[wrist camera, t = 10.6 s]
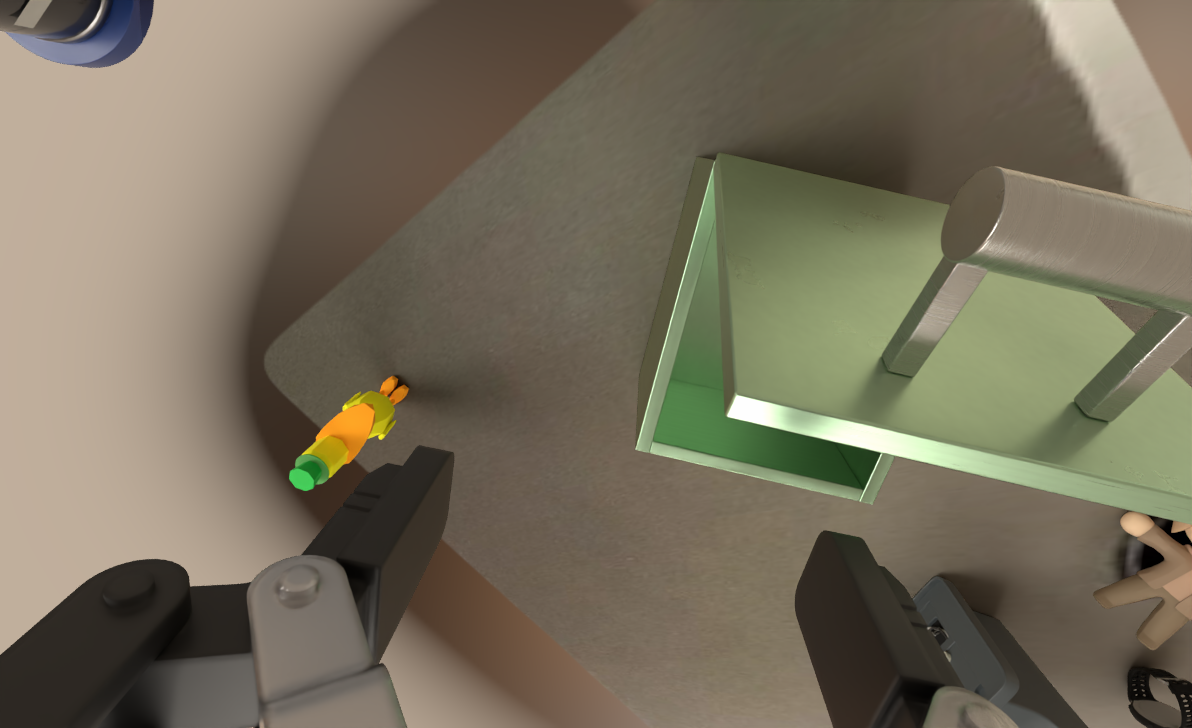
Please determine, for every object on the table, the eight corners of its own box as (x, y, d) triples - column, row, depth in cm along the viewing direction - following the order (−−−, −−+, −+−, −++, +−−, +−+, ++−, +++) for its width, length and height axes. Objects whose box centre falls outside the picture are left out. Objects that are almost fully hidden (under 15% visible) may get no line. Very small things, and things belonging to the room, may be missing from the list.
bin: (819, 418, 42) (872, 505, 32) (638, 377, 42) (635, 450, 32) (905, 204, 36) (1005, 226, 26) (696, 156, 36) (714, 160, 26)
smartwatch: (1100, 685, 48) (1148, 743, 43) (1141, 643, 46) (1197, 699, 42) (1143, 701, 48) (1196, 760, 44) (1187, 660, 46) (1247, 717, 42)
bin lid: (1311, 553, 13) (1655, 355, 9) (723, 418, 13) (834, 168, 9) (1005, 235, 26) (1097, 101, 22) (712, 168, 26) (757, 24, 22)
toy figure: (402, 344, 43) (314, 414, 31) (439, 375, 43) (366, 454, 32) (353, 402, 45) (255, 487, 33) (390, 431, 45) (305, 524, 34)
